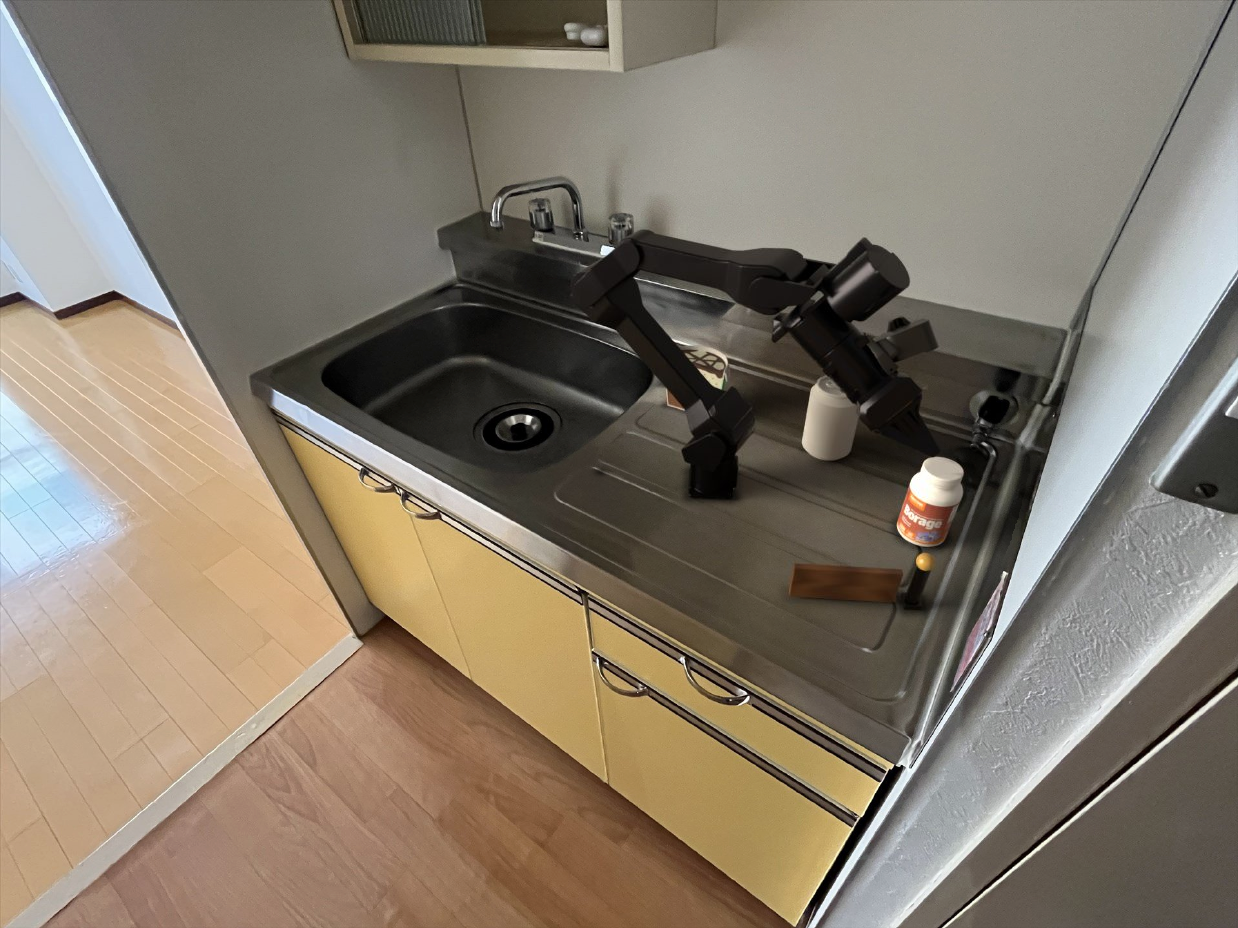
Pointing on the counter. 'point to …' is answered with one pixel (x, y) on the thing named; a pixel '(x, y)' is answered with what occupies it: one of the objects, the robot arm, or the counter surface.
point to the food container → (705, 368)
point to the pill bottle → (931, 502)
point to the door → (845, 582)
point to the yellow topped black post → (918, 582)
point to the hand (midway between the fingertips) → (928, 444)
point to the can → (829, 422)
